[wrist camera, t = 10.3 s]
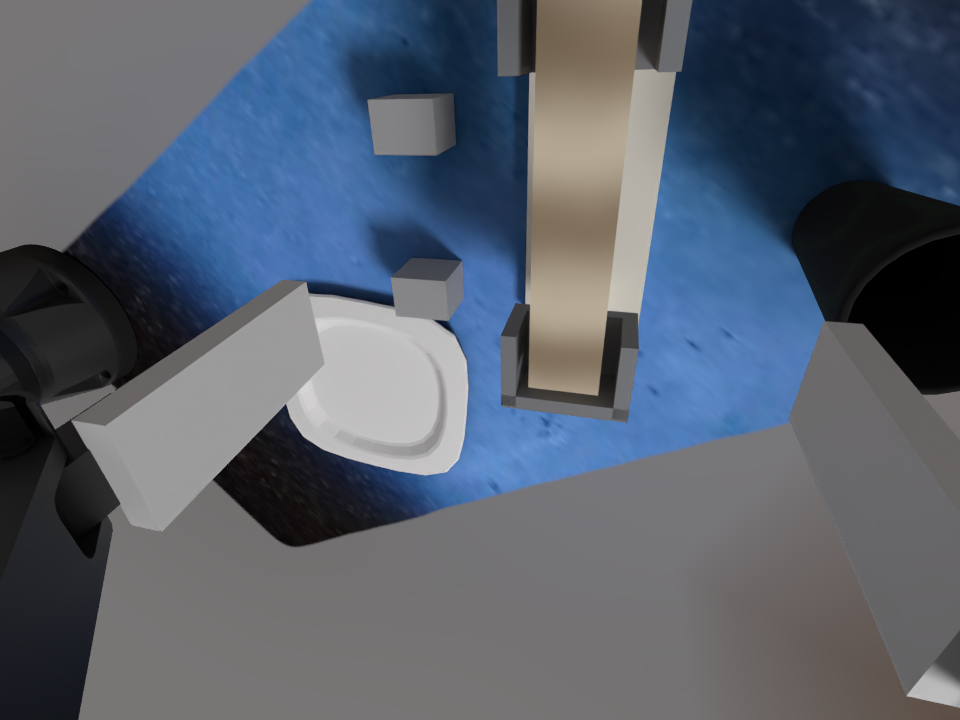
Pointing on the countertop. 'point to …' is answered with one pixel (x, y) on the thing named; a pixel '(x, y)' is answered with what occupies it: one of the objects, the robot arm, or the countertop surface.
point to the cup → (889, 273)
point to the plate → (384, 388)
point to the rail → (577, 182)
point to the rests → (419, 131)
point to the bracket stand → (639, 191)
